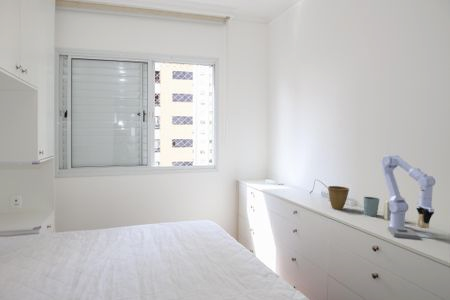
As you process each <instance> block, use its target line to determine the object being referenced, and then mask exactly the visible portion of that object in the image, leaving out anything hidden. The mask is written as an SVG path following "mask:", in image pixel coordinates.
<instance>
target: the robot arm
mask: <svg viewBox="0 0 450 300" xmlns="http://www.w3.org/2000/svg"><path fill="white" fill-rule="evenodd" d="M380 161H381V166H382V169H381V170H382V173H383V177H384V178H383V179H384V180H385V184H386V187H387V190H388V192H389V197H390V199H389V200H388V201H389V209H390V211H391V212H392V213H391V215H390V220H389V223H388V227H399V228H406V226H405V222H406V221H405V220H406V213H407V211H409V204H408V203H407V201H406V200H405V198H404V197H402V196H401V192H400V191H399V187H398V184H397V181H396V177H395V174H394V171H395V170H396V168H397V167H400V168H402V169H403V170H405V171H406V172H408V173H409V174H408V175H409V176H410V177H411V178H413V180H414V181H416V182H417V184H418V185H419V189H420V190H419V202H417V204H416V208H415V209H416V210H417V212H418V213H417V214H423V217H424V223H429V224H430V221H431V218H432V216H433V215H434V213H435V208H434V207H433V206H432V204H433V203H432V201H433V187H434V186H435V184H436V179H435V178H434V176H432V175H428V174H427V173H425V172H423V171H422V170H421V168H420V167H413V166H412V165H410V164H409V163H408V162H407V161H405V160H404V159H403V158H402V157H400V155H396V154H395V155H390V154H389V155H388V154H385V155H384V156H383V157H382V158H381V160H380Z"/></svg>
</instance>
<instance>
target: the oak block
mask: <svg viewBox="0 0 450 300" xmlns="http://www.w3.org/2000/svg"><path fill="white" fill-rule="evenodd" d="M417 214H418V216H417V227H419V228H421V229H430V222H429V223H424V217H423V214H419V213H417Z"/></svg>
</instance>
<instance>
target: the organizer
mask: <svg viewBox="0 0 450 300" xmlns="http://www.w3.org/2000/svg"><path fill="white" fill-rule="evenodd" d="M387 231H388V232H389V233H390V234H391V235H392V236H393V238H401V239H410V240H411V239H412V240H420V237H419V235H418V234H416V233H415V232H416V231H414V230H413V229H412V228H408V227H405V228H399V227H390V226H387Z"/></svg>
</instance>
